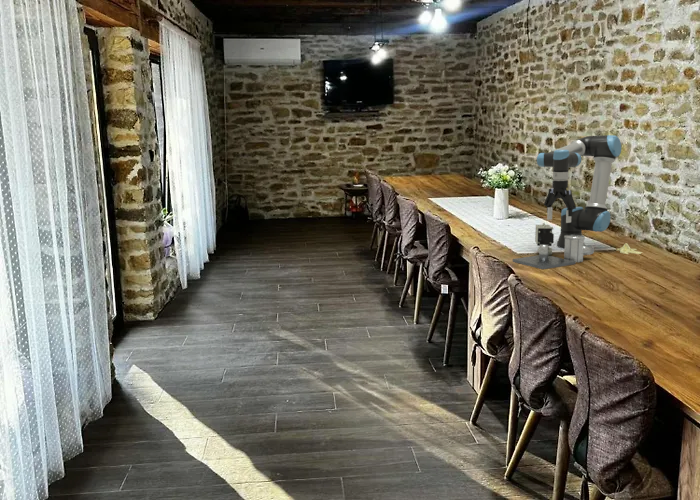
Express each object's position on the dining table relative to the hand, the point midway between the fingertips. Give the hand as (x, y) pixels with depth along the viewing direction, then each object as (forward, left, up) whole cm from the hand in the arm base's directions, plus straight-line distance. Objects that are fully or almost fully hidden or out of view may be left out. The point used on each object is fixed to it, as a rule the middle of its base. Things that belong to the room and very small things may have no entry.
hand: (558, 221), depth 317 cm
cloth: (-53, -1, -24) cm, 58 cm away
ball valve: (-4, -14, -21) cm, 26 cm away
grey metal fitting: (-7, +5, -21) cm, 22 cm away
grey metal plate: (+10, +1, -21) cm, 23 cm away
